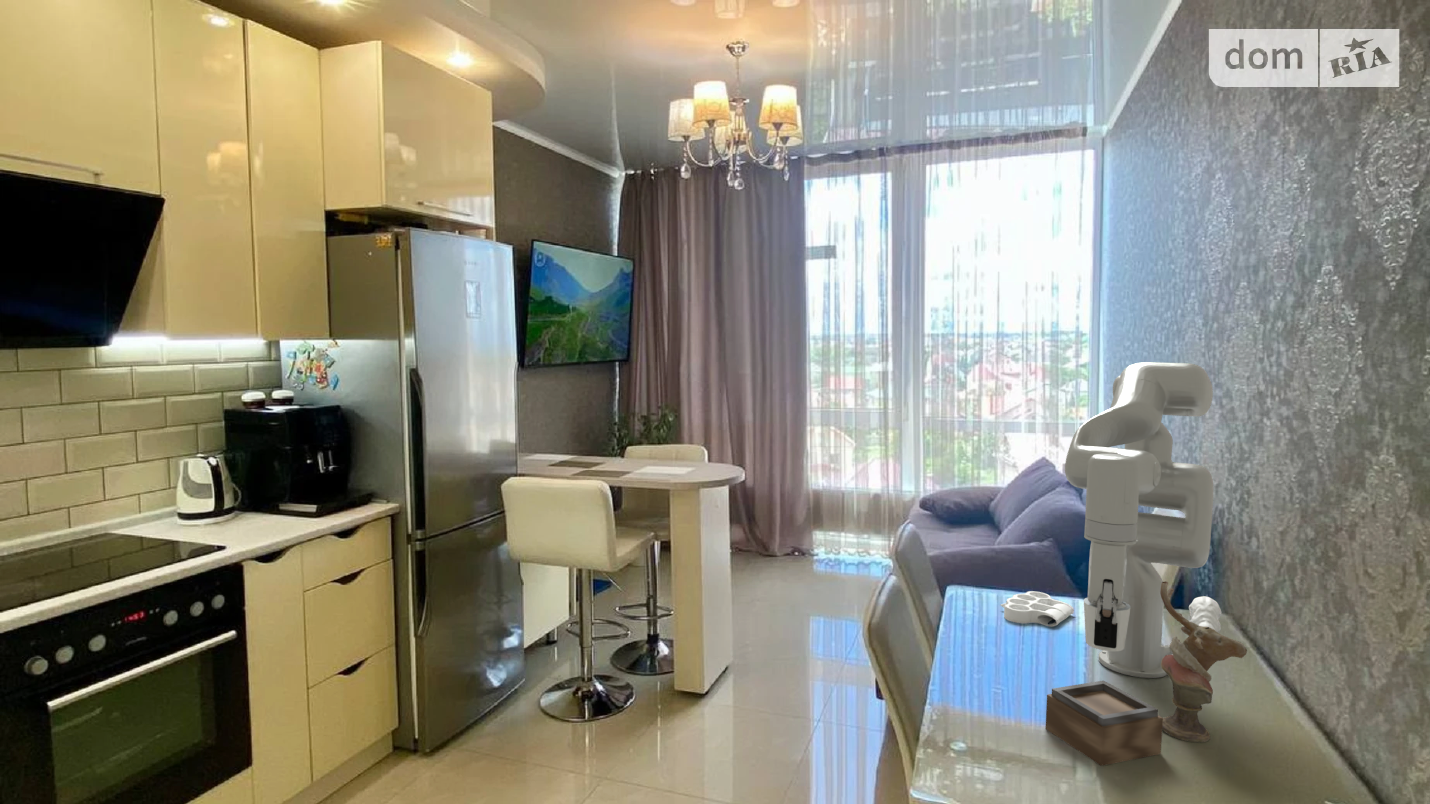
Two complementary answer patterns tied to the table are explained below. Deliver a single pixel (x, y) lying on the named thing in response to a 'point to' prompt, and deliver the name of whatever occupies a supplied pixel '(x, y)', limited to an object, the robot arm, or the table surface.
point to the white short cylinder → (1091, 616)
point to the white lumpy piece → (1205, 613)
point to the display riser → (1104, 722)
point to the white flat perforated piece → (1036, 609)
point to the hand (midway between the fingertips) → (1105, 637)
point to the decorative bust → (1193, 672)
